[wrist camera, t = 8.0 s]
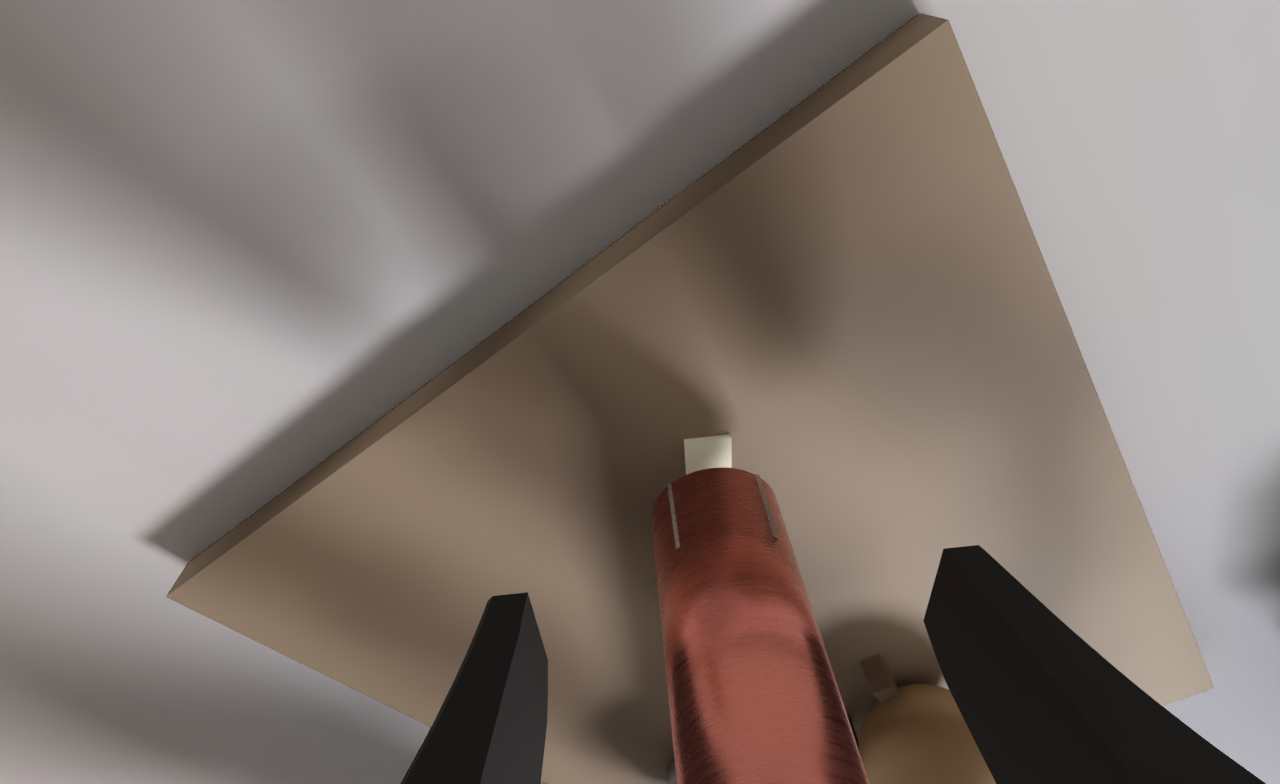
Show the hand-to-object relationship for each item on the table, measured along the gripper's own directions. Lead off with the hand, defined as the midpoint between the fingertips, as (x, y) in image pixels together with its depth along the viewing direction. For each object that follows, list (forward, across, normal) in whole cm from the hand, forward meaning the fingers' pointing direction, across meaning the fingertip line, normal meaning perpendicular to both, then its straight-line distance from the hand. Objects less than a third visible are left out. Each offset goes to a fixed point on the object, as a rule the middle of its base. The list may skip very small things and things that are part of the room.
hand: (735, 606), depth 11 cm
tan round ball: (+3, -6, +10) cm, 12 cm away
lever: (+2, 0, +7) cm, 8 cm away
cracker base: (+4, -2, +7) cm, 9 cm away
